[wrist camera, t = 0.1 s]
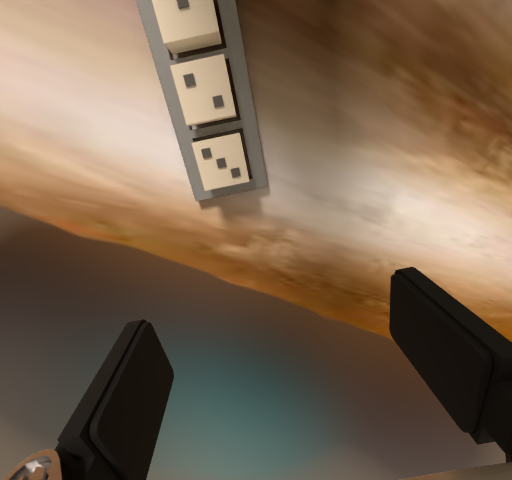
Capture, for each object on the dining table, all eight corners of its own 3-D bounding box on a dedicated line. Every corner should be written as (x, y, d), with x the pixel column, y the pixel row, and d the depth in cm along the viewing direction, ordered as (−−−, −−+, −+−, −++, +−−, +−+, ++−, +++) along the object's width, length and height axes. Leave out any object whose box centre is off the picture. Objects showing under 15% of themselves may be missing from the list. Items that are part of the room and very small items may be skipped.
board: (197, 198, 39) (195, 201, 37) (132, -21, 28) (127, -29, 27) (266, 184, 39) (267, 186, 37) (226, -43, 28) (226, -52, 27)
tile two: (178, 73, 31) (169, 65, 27) (225, 63, 31) (223, 53, 27) (192, 125, 33) (186, 125, 29) (236, 116, 33) (235, 114, 29)
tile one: (155, -11, 28) (141, -34, 24) (208, -23, 28) (203, -48, 24) (173, 54, 30) (163, 42, 26) (221, 43, 30) (218, 30, 26)
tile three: (196, 141, 34) (191, 142, 30) (239, 132, 34) (239, 132, 30) (208, 185, 36) (204, 191, 33) (248, 176, 36) (249, 181, 32)
